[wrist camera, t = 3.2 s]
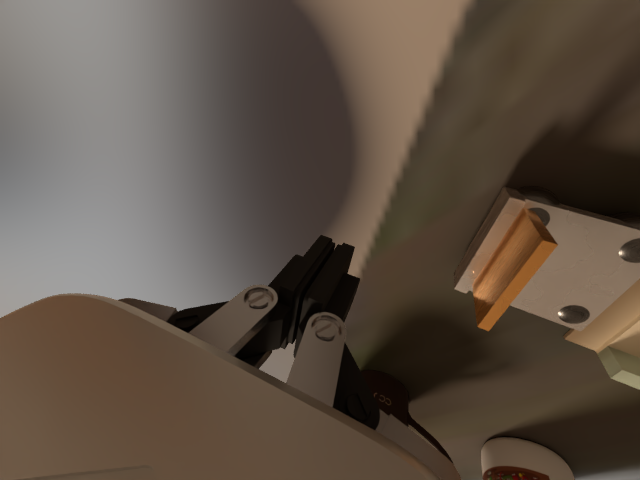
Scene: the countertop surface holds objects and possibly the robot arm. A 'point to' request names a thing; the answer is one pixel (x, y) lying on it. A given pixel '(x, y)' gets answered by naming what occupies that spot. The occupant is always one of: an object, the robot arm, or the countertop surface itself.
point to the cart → (548, 259)
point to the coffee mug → (395, 402)
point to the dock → (616, 337)
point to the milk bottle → (521, 461)
